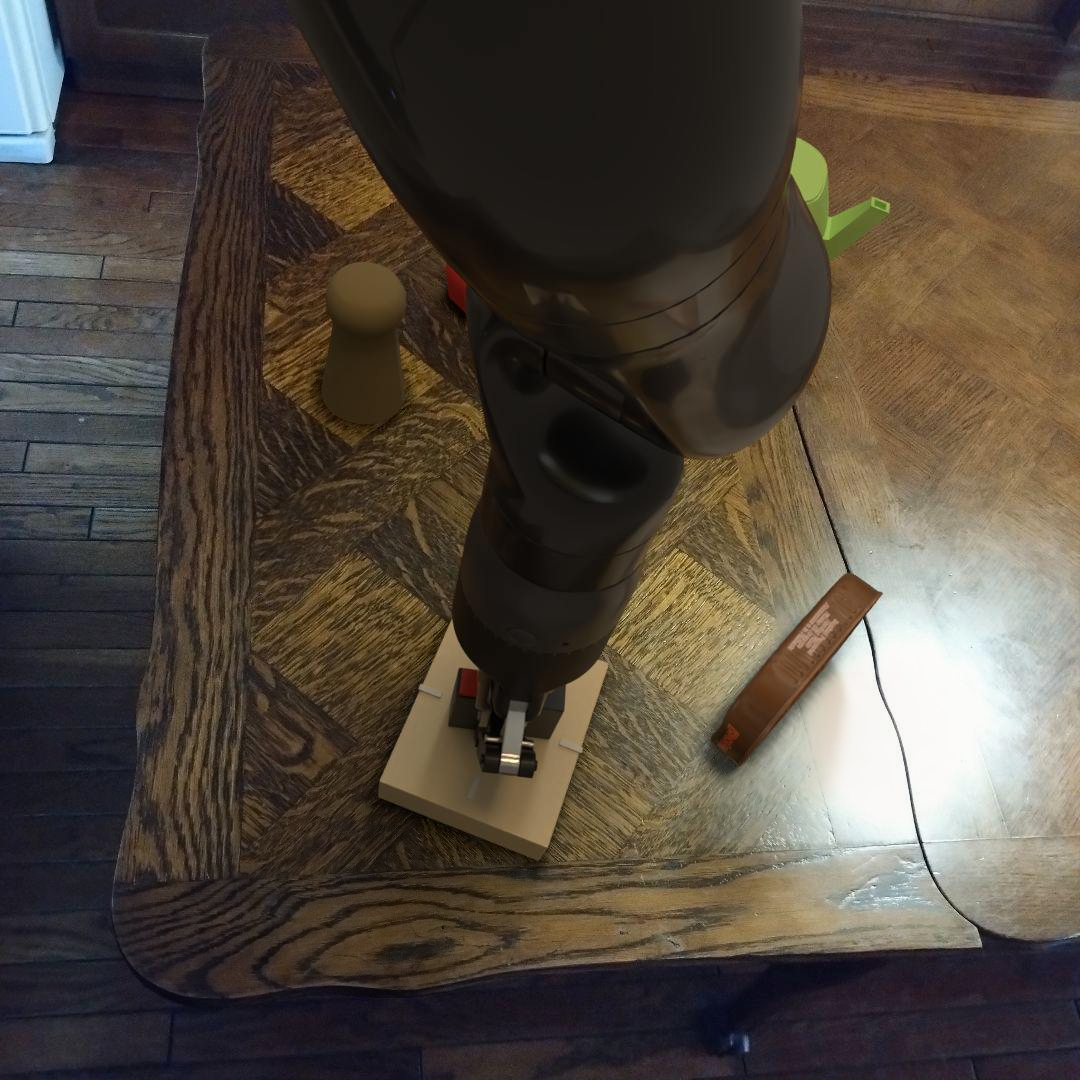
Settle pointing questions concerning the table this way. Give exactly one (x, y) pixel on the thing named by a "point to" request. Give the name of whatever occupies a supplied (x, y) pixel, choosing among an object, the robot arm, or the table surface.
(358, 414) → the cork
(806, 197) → the teapot
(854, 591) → the tin
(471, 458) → the table surface
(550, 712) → the red tipped black brick
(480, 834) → the panel
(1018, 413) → the table surface
